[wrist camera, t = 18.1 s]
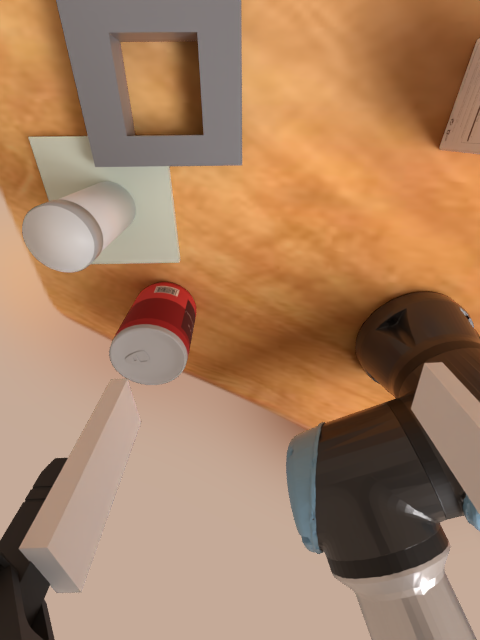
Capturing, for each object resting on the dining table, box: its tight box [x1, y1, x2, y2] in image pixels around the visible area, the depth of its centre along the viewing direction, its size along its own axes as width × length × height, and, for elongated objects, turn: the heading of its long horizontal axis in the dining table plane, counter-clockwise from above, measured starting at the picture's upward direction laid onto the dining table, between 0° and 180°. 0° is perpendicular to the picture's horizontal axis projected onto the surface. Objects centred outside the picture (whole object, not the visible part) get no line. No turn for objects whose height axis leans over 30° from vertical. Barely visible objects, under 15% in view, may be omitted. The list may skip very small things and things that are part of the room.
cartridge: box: [22, 181, 136, 272], centre depth 28 cm, size 5×5×12 cm
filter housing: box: [56, 0, 242, 167], centre depth 25 cm, size 22×14×3 cm, turn 1°
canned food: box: [109, 282, 196, 385], centre depth 36 cm, size 8×8×11 cm
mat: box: [28, 135, 180, 264], centre depth 33 cm, size 13×13×1 cm
